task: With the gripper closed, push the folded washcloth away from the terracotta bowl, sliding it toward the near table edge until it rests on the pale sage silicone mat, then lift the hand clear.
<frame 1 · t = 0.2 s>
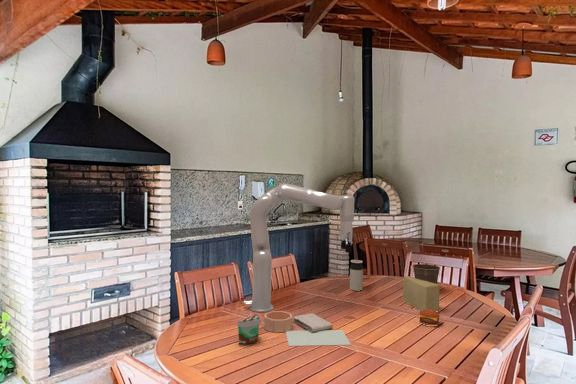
hand: (346, 250, 213), 31 cm above the table, fingers open, 9 cm apart
olive green box: (417, 307, 218), on the table
plant pot: (425, 292, 248), on the table
travel mug: (356, 289, 251), on the table
hamburger: (428, 324, 193), on the table
food container: (251, 342, 167), on the table
washcloth: (311, 325, 188), on the table, touching mat
mat: (317, 337, 173), on the table
bowl: (278, 327, 184), on the table
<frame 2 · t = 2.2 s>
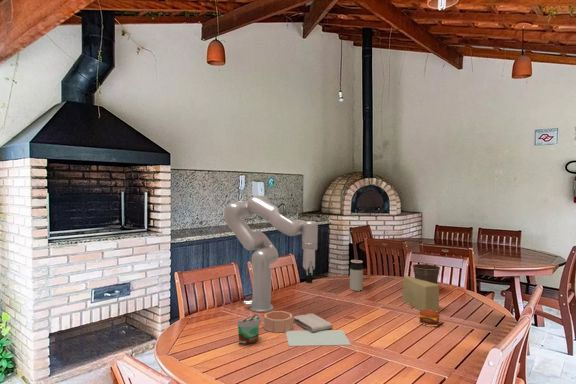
hand: (309, 282, 199), 17 cm above the table, fingers closed
nothing on the table moved.
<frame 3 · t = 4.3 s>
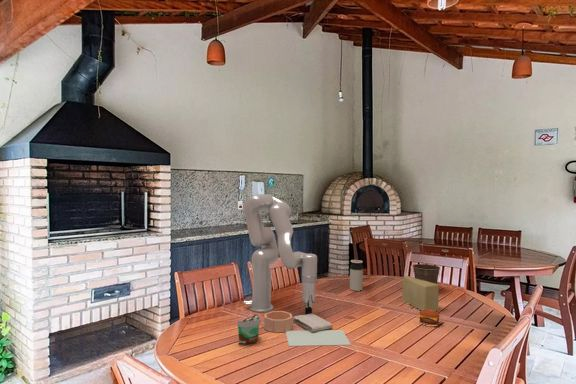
hand: (308, 315, 199), 1 cm above the table, fingers closed
washcloth: (311, 325, 188), on the table, touching gripper
everything else where it was.
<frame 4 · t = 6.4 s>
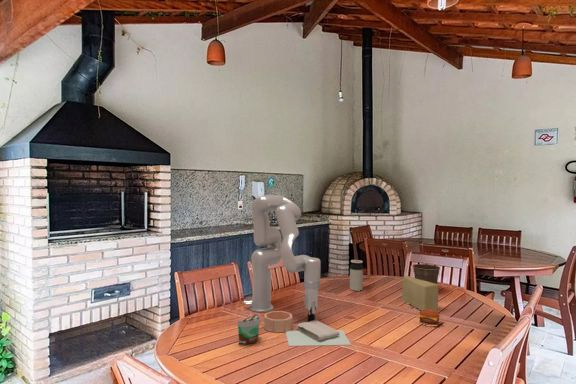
hand: (311, 322, 189), 1 cm above the table, fingers closed
washcloth: (317, 333, 178), on the table, touching gripper, mat
everything else where it was.
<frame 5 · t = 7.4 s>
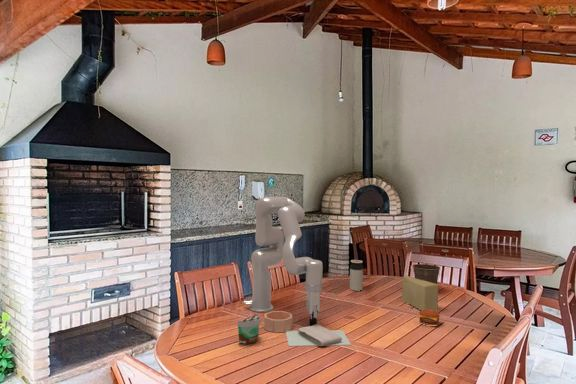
hand: (312, 326, 184), 1 cm above the table, fingers closed
washcloth: (318, 338, 173), resting on mat
everything else where it was.
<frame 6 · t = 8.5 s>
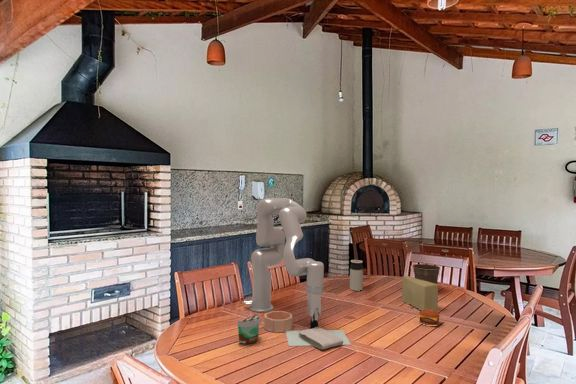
hand: (314, 329, 181), 1 cm above the table, fingers closed
washcloth: (319, 341, 169), resting on mat, touching gripper
everything else where it was.
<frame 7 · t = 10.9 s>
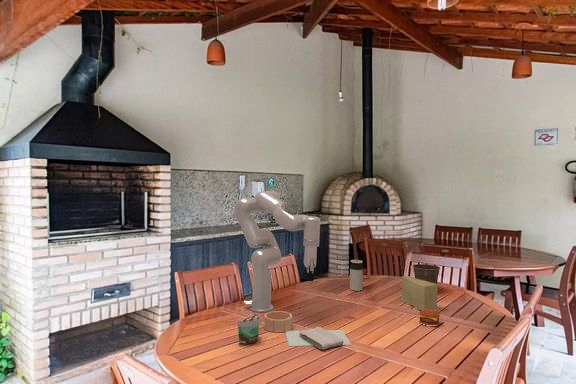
hand: (309, 280, 191), 20 cm above the table, fingers closed
washcloth: (320, 341, 169), resting on mat
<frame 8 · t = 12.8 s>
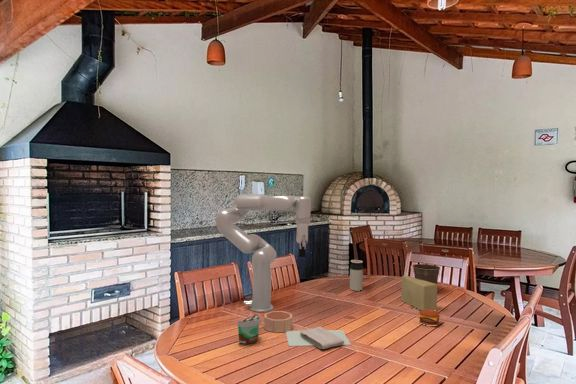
hand: (302, 256, 203), 29 cm above the table, fingers closed
at the end: washcloth inside the target area (3.4 cm from its centre), resting on mat; washcloth moved 18.3 cm from its start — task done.
